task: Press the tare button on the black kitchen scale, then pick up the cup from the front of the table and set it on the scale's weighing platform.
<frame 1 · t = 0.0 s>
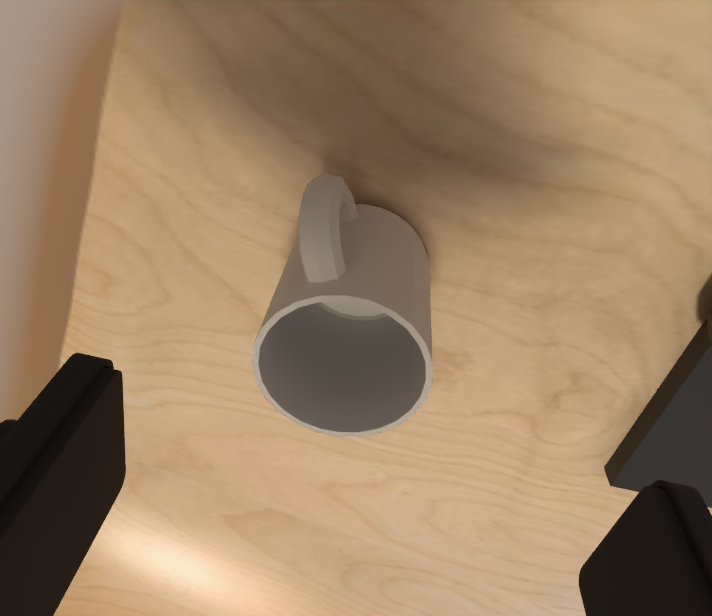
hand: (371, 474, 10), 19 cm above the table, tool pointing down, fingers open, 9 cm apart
cup: (355, 238, 29), on the table
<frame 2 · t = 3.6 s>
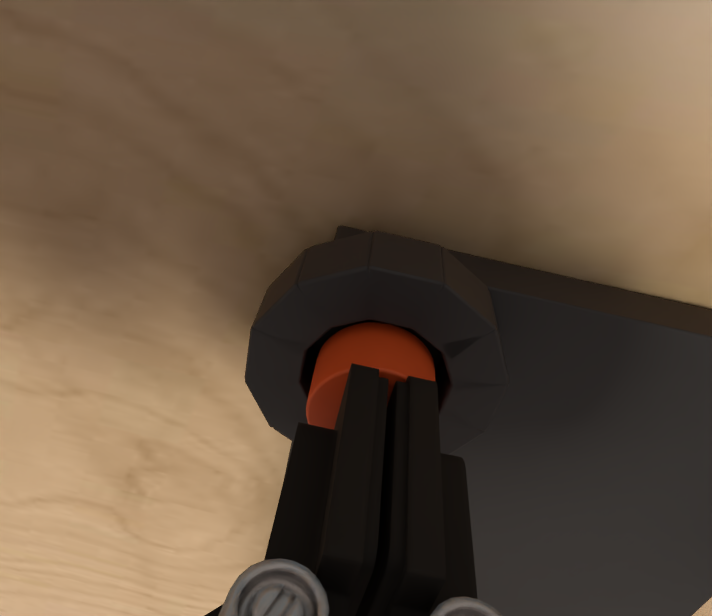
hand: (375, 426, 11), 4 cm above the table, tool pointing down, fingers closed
scale: (505, 494, 18), on the table
tare button: (373, 392, 12), point 3 cm above the table, slide at 0.0 cm, touching gripper
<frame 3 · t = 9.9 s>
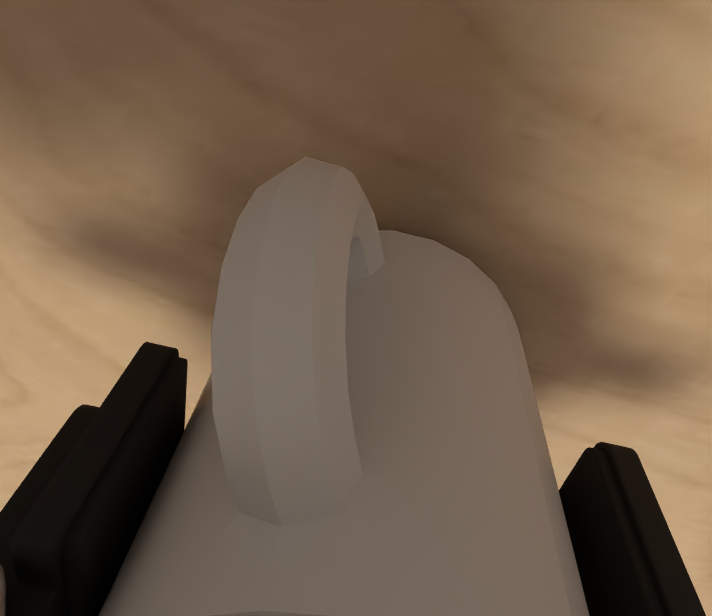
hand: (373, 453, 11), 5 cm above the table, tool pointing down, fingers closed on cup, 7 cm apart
cup: (368, 296, 14), on the table, touching gripper
when the fingers open (6 cm above the table, at t = 17.0 s): cup stays where it is, resting on scale.
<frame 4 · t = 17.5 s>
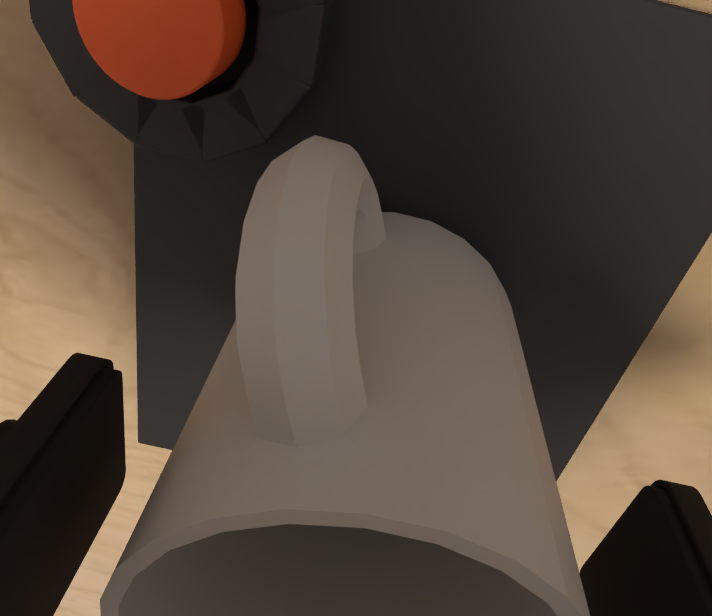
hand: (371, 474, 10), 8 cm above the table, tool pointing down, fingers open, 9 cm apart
cup: (371, 277, 15), point 1 cm above the table, touching scale
scale: (391, 272, 16), on the table
tare button: (164, 15, 10), point 3 cm above the table, slide at 0.1 cm
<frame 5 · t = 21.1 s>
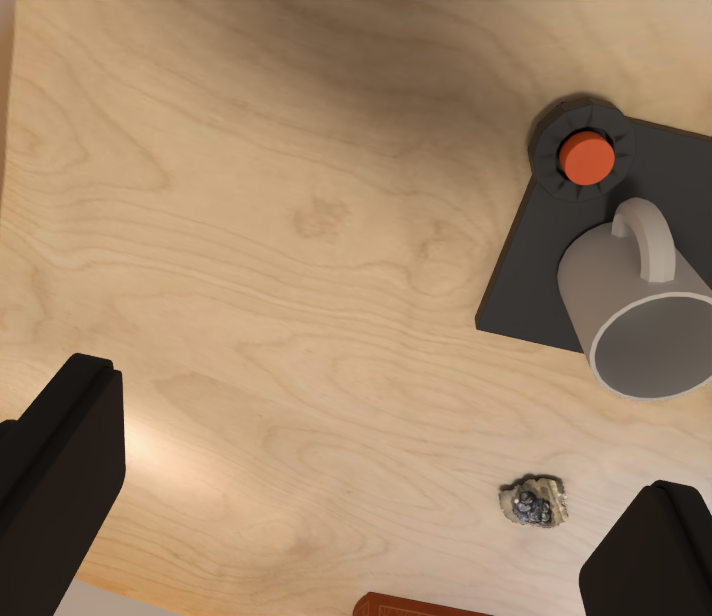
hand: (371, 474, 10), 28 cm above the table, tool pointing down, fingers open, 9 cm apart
mineral rock: (537, 500, 52), on the table
cup: (613, 247, 36), point 1 cm above the table, touching scale
scale: (613, 246, 38), on the table
tare button: (586, 158, 31), point 3 cm above the table, slide at 0.1 cm
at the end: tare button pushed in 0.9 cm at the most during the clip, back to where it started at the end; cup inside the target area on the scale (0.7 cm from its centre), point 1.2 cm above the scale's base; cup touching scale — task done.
